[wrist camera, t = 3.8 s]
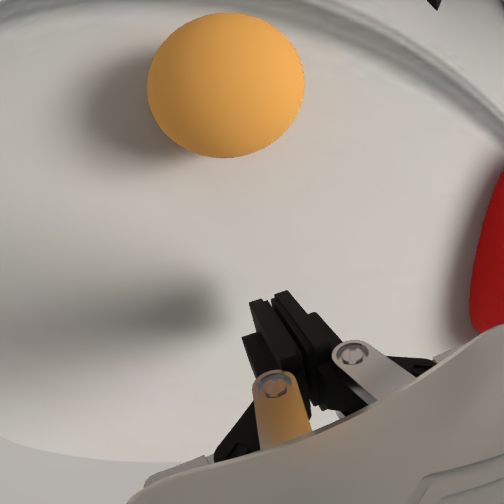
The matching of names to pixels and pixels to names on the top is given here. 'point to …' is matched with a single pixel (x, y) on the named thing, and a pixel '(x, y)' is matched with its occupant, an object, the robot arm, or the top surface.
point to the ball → (225, 85)
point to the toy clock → (489, 267)
